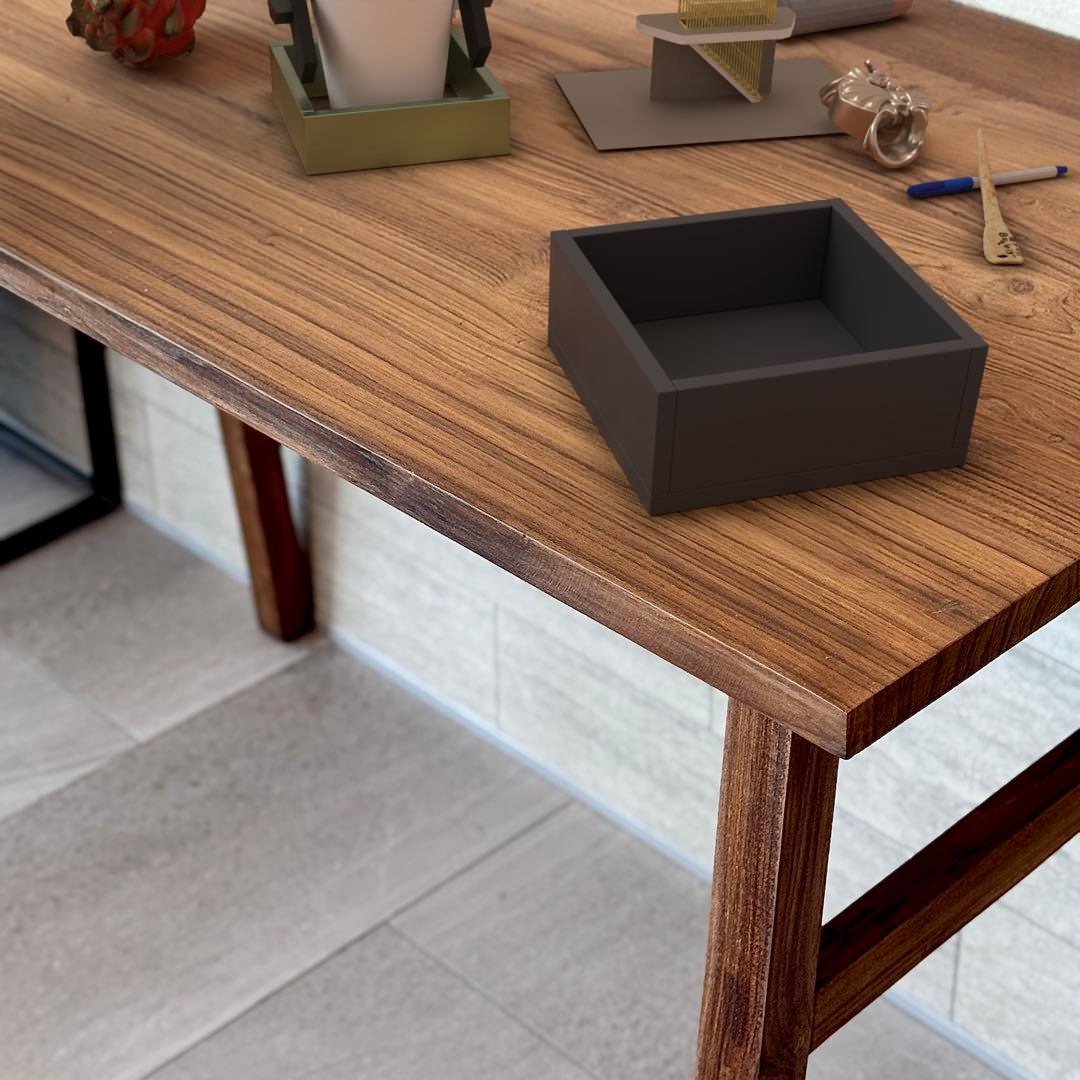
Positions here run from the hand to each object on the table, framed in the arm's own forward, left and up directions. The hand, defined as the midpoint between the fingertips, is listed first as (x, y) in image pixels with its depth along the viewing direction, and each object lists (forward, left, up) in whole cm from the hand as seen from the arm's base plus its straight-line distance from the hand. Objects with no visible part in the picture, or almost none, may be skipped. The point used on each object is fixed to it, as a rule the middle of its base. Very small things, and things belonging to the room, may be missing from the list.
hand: (396, 65), depth 96 cm
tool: (+31, -17, -4) cm, 36 cm away
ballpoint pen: (+31, -13, -4) cm, 34 cm away
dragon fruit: (-13, +18, -5) cm, 23 cm away
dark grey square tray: (+9, -32, -5) cm, 33 cm away
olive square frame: (0, +3, -5) cm, 6 cm away
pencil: (+34, +12, -5) cm, 37 cm away
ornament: (+27, -7, -5) cm, 28 cm away
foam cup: (0, +3, -5) cm, 6 cm away
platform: (+20, +1, -5) cm, 21 cm away
